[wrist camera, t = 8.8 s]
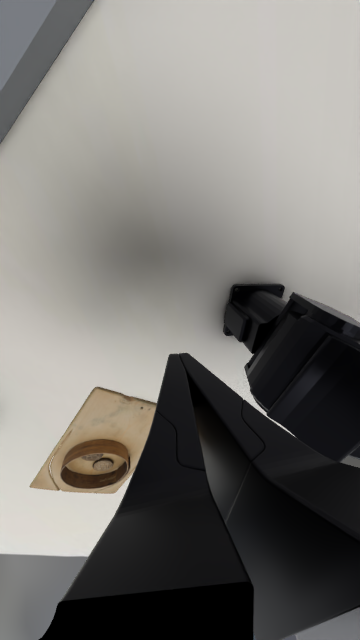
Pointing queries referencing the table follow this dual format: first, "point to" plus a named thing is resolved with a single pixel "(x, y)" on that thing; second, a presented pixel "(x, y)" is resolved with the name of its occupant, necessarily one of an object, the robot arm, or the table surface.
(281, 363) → the robot arm
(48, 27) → the switch panel
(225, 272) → the table surface
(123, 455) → the board
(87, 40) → the table surface
